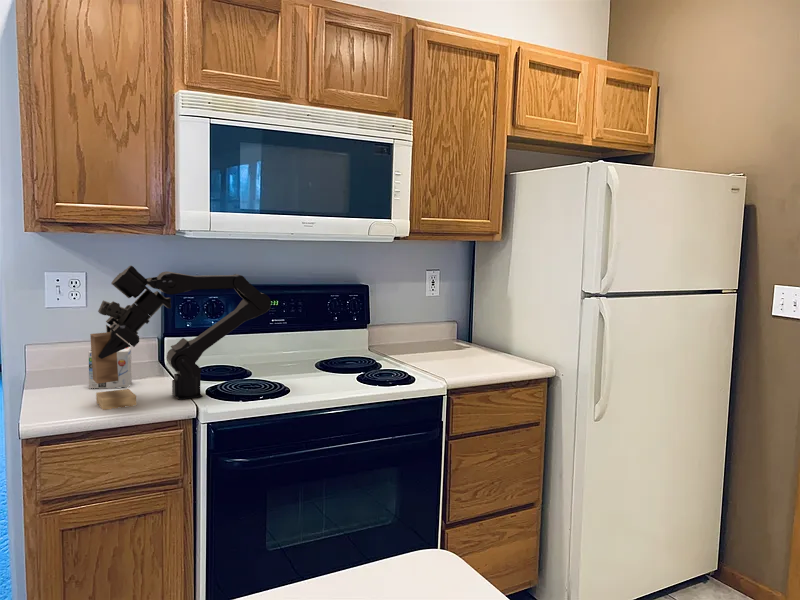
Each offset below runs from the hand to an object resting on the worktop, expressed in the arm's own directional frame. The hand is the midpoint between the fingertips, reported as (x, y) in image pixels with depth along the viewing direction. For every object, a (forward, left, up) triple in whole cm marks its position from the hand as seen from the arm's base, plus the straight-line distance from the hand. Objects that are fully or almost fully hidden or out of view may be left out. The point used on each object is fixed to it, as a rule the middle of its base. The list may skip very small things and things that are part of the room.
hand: (98, 355), depth 164 cm
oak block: (-4, +1, -13) cm, 14 cm away
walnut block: (-2, 0, -7) cm, 7 cm away
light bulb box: (-7, -20, -13) cm, 25 cm away
